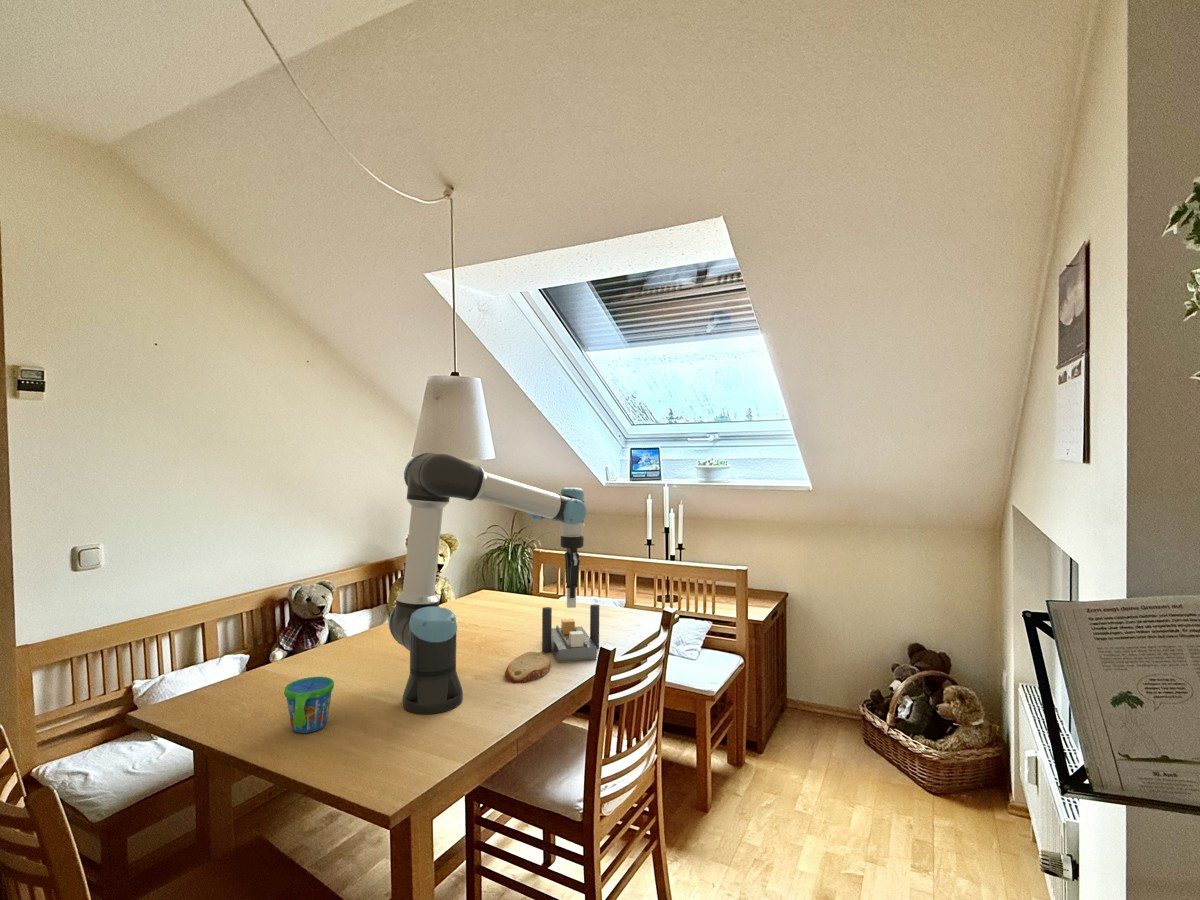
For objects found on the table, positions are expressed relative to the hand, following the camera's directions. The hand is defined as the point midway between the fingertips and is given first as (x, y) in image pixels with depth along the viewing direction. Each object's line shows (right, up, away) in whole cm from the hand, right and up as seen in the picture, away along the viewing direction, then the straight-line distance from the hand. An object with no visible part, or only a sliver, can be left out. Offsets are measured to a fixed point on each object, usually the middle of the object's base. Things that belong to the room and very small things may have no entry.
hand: (571, 607), depth 200 cm
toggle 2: (+2, -10, -8) cm, 13 cm away
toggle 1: (-1, -10, +5) cm, 11 cm away
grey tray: (0, -14, +1) cm, 14 cm away
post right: (+8, -14, +3) cm, 16 cm away
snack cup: (-59, -14, -55) cm, 82 cm away
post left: (-8, -14, -1) cm, 16 cm away
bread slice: (-12, -15, -17) cm, 26 cm away
